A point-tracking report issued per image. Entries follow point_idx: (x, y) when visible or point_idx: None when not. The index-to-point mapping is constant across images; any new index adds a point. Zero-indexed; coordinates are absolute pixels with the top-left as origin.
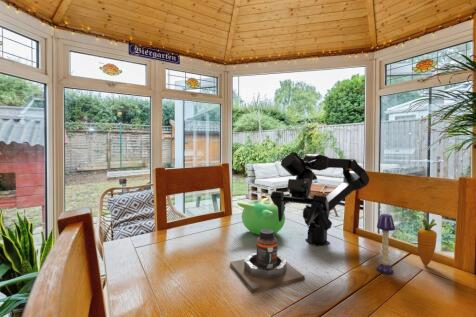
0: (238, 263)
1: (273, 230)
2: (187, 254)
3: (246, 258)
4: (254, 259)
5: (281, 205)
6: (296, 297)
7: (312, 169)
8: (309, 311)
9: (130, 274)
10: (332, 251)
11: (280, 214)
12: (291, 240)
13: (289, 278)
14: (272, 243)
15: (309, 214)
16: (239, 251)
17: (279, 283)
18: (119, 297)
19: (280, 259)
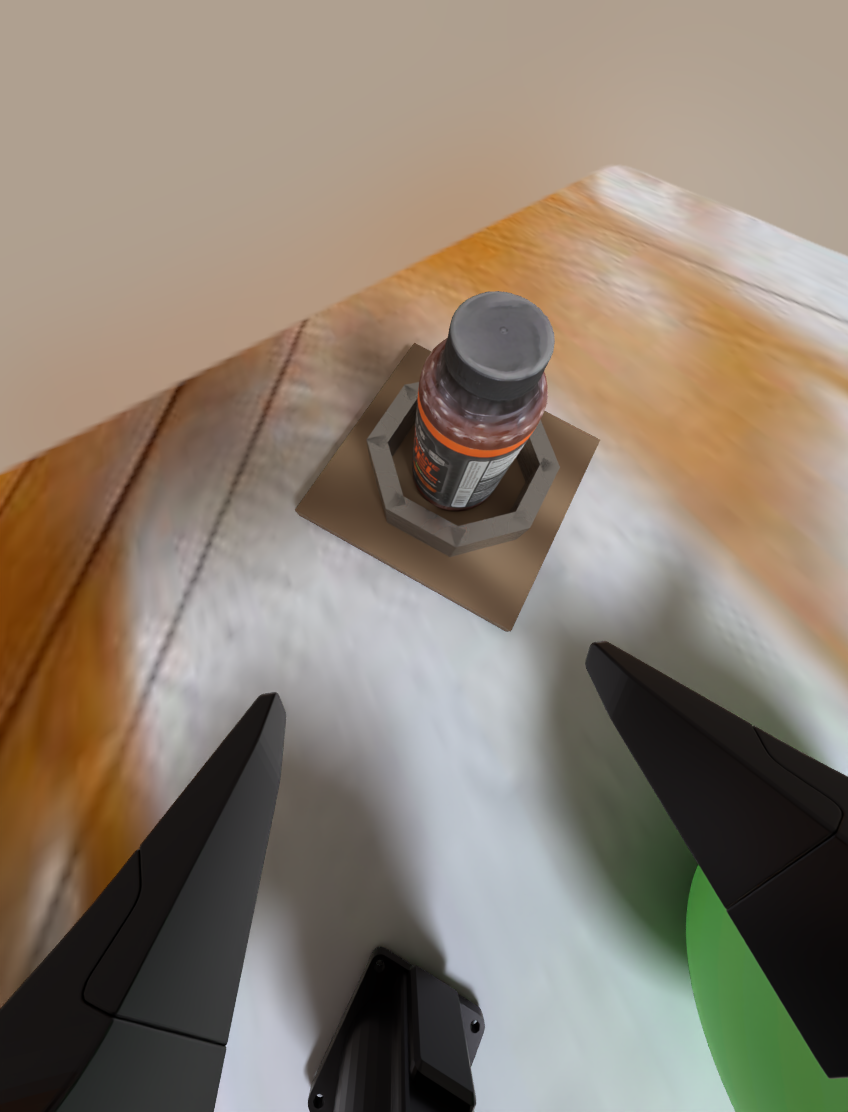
0: (567, 448)
1: (698, 883)
2: (774, 423)
3: (540, 423)
4: (528, 481)
5: (838, 837)
6: (285, 401)
7: None
8: (225, 363)
9: (752, 255)
10: (261, 936)
11: (651, 688)
12: (555, 924)
13: (340, 459)
14: (427, 359)
15: (197, 835)
16: (659, 570)
17: (360, 419)
18: (660, 192)
19: (415, 504)
